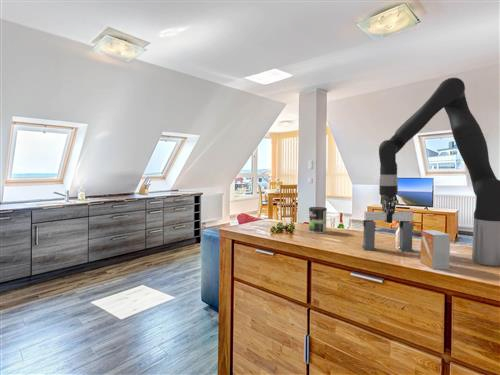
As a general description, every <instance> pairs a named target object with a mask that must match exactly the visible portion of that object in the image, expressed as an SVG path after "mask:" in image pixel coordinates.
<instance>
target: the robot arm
mask: <svg viewBox="0 0 500 375" xmlns="http://www.w3.org/2000/svg"><path fill="white" fill-rule="evenodd" d="M465 90H466V85H465V83H464V81H463V80H462V79H461V78H457V77H450V78H447V79H444V80H443V81H442V82H441V83H439V86H438V87H437V88H436V90H435V91H434V92H433V93H432V95H431V96H430V97H429V98H428V100H426V101H425V103H423V105H422V106H421V107H419V108H418V110H416V112H414V113H413V114H412V115H411V116H410V117H409V118H408V119H407V120H406V121H404V123H403V124H401V125H400V126H399V127H398V128H397V129H396V130H395V132H394V134H393V135H392V136H391V137H390V138H389V139H386V140H383V141H382V142H381V143H380V144H379V146H378V156H379V157H378V158H379V164H380V166H379V168H380V169H379V184H378V186H379V195H380V196H383V198H381V208H382V210H381V212H387V220H383V221H384V222H386V223H387V224H393V220H392V215H393V214H394V213H395V212H396V205H397V202H396V201H395V198H394V196H397V195H398V191H399V190H398V189H399V188H398V186H399V184H398V183H399V181H398V180H399V178H398V164H397V161H396V160H397V159H396V158H397V156H396V154H398V153H399V152H400V151H401V150H402V149H403V148H404V146H405V145H406V144H407V143H408V142H409V141H410V140H412V138H414V137H415V136H416V135H418V133H419V132H421V130H422V129H423V128H424V127H426V125H427V124H428V123H429V122H430V121H431V120H432V119H433V118H434V116H435V115H437V114H438V113H439V112H441V110H442V109H443V110H445V113H446V114H447V116H448V120H449V123H450V125H449V126H450V128H451V133H452V136H453V139H454V142H455V144H456V147H457V150H458V152H459V153H460V156H461V159H462V161H463V162H464V165H465V167H466V169H467V171H468V173H469V174H468V175H469V176H470V181H471V185H472V190H473V192H474V195H475V196H476V197H475V198H476V200H475V202H476V203H475V210H474V212H473V228H472V234H473V235H472V247H471V248H472V252H471V254H472V255H471V261H472V262H473V263H476V264H480V265H484V266H490V267H495V266H496V267H500V180H499V179H498V178H497V177H496V175H495V173H494V171H493V168H492V165H491V163H490V158H489V150H488V149H489V148H488V143H487V141H486V137H485V135H484V133H483V130H482V128H481V126H480V124H479V123H478V121H477V120H476V118H475V116H474V115H473V113H472V112H471V110H470V108H469V105H468V104H469V103H468V101H467V98H466V93H465Z"/></svg>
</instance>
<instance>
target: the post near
mask: <svg viewBox="0 0 500 375" xmlns="http://www.w3.org/2000/svg"><path fill="white" fill-rule="evenodd" d="M414 224H415V223H414V222H410V221H399V224H398V225H399V226H398V228H399V246H400V248H399V249H400V250H401V252H405V251H407V252H410V253H414V249H413V231H414ZM399 246H398V247H399ZM399 249H398V250H399ZM400 250H399V251H400Z"/></svg>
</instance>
